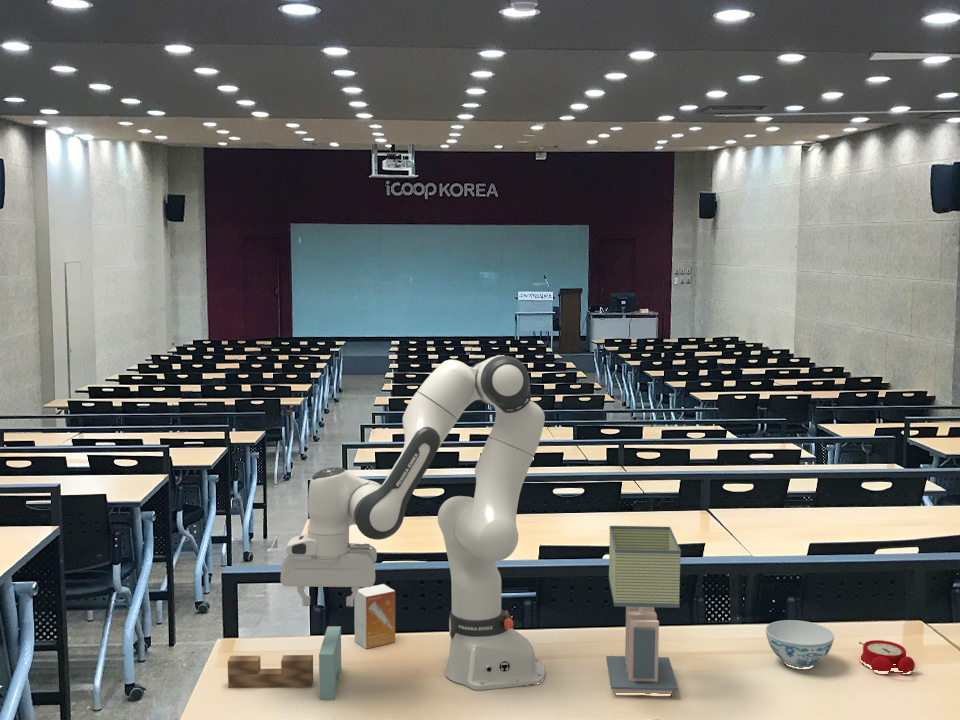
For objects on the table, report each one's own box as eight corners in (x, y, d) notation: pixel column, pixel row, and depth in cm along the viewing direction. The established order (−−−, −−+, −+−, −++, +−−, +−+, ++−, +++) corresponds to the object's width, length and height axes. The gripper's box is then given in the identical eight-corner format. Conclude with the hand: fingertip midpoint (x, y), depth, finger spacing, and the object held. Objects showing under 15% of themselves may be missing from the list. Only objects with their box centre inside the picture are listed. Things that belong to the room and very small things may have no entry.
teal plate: (341, 668, 239) (340, 626, 238) (333, 699, 223) (333, 654, 222) (328, 669, 239) (327, 626, 238) (319, 699, 223) (318, 654, 222)
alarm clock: (895, 638, 249) (923, 649, 234) (896, 666, 248) (924, 678, 233) (851, 639, 248) (876, 649, 233) (852, 666, 248) (877, 678, 233)
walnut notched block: (313, 681, 232) (312, 654, 232) (311, 686, 229) (311, 660, 229) (231, 682, 232) (230, 655, 231) (228, 687, 229) (227, 661, 228)
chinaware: (764, 648, 251) (766, 617, 251) (831, 655, 247) (832, 623, 247) (764, 673, 237) (765, 640, 236) (834, 681, 233) (835, 647, 232)
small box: (366, 649, 250) (365, 596, 249) (354, 641, 256) (353, 589, 254) (396, 642, 255) (395, 590, 253) (383, 634, 260) (383, 583, 259)
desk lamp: (605, 664, 242) (608, 525, 238) (668, 666, 241) (671, 526, 237) (611, 699, 223) (613, 549, 220) (678, 701, 223) (682, 550, 219)
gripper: (377, 539, 231) (377, 601, 232) (283, 538, 230) (283, 600, 232) (375, 548, 225) (375, 610, 226) (279, 546, 224) (279, 609, 225)
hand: (328, 605), depth 229 cm, fingers open, 8 cm apart
